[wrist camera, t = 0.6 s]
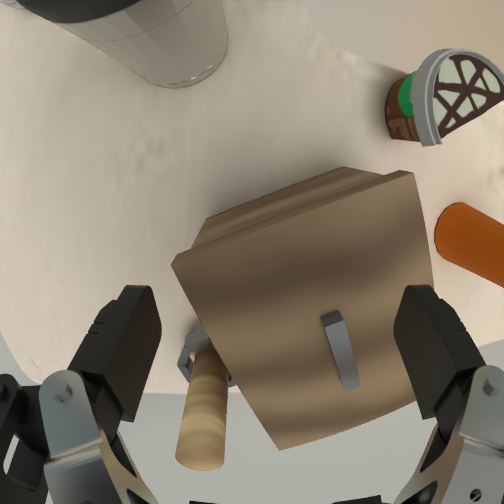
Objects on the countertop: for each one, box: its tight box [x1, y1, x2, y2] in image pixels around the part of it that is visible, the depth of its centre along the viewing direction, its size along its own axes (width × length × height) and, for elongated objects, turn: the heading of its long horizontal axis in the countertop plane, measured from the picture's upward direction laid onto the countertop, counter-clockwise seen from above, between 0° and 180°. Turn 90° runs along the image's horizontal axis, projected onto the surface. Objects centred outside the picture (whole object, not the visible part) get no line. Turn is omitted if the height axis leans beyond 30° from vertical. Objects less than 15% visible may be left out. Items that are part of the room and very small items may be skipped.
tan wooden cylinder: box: [175, 346, 229, 471], centre depth 26 cm, size 4×4×16 cm
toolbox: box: [171, 167, 434, 450], centre depth 25 cm, size 19×15×14 cm
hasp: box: [177, 329, 236, 387], centre depth 27 cm, size 7×8×8 cm
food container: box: [385, 49, 504, 147], centre depth 21 cm, size 12×6×10 cm, turn 122°
